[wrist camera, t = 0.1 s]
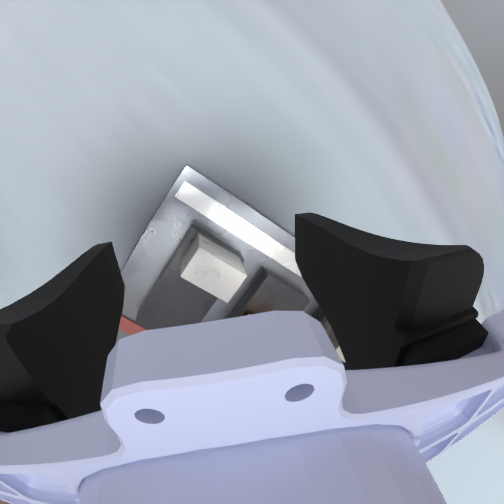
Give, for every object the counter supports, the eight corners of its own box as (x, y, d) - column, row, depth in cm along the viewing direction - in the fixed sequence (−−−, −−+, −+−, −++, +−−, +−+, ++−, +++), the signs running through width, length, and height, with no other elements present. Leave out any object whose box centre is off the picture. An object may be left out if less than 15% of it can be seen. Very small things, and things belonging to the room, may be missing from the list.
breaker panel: (296, 432, 32) (311, 469, 27) (83, 348, 24) (65, 391, 18) (404, 316, 29) (436, 346, 24) (186, 164, 21) (184, 170, 15)
